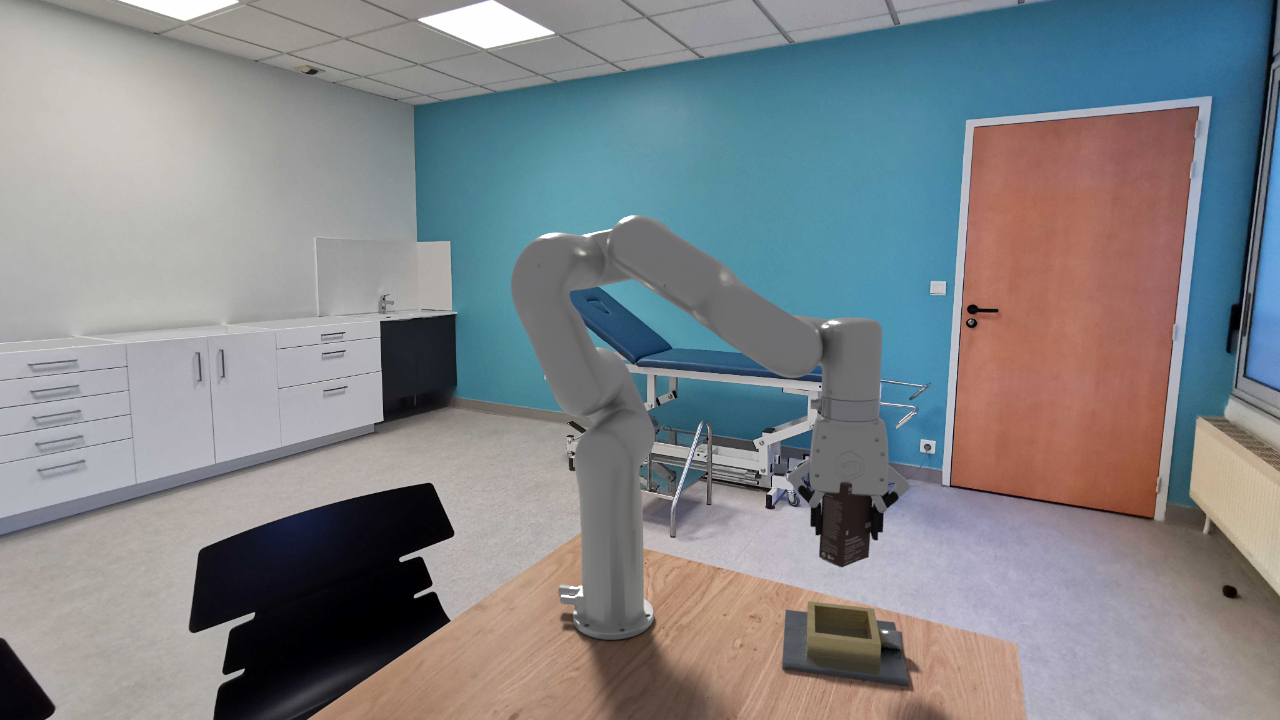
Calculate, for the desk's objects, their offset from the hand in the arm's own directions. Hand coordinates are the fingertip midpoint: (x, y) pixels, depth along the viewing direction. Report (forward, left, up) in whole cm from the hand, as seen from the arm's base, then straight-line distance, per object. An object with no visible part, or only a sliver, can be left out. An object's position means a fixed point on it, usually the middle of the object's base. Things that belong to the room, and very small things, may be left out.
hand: (845, 533), depth 91 cm
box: (0, 0, -4) cm, 4 cm away
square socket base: (0, 0, -17) cm, 17 cm away
